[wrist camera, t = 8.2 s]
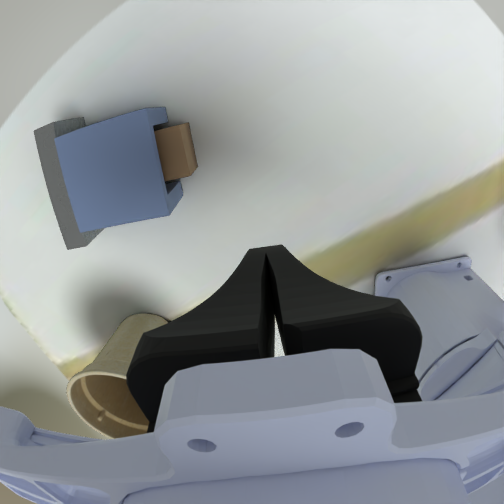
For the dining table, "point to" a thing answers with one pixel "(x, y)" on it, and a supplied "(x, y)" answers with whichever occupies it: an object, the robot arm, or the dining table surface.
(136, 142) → the socket block
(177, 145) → the walnut peg
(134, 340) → the flower pot
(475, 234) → the dining table surface
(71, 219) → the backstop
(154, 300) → the dining table surface
